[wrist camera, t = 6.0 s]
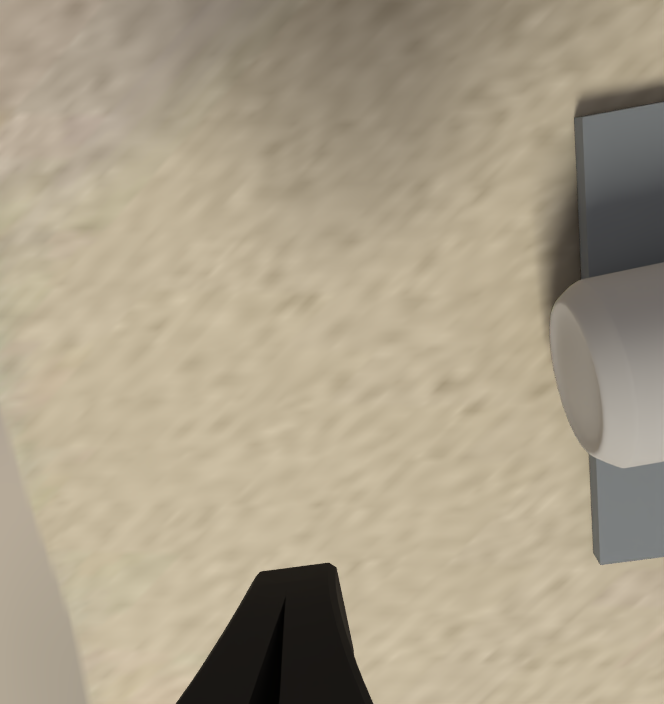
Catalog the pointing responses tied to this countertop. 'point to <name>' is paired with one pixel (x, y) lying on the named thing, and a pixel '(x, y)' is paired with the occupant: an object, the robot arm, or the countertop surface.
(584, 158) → the mat
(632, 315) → the beverage can
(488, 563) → the countertop surface
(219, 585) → the countertop surface
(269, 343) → the countertop surface
